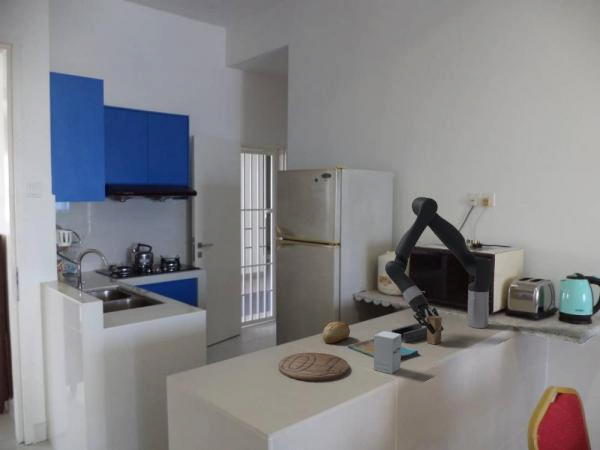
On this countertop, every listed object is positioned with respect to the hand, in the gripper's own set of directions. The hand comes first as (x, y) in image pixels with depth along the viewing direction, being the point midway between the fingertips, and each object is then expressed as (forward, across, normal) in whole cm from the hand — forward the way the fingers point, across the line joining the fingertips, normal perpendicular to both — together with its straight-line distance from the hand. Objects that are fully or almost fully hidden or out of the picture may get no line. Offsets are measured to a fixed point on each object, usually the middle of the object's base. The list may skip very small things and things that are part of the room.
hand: (438, 331), depth 197 cm
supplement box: (+8, -40, -1) cm, 41 cm away
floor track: (-5, 0, +13) cm, 14 cm away
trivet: (-4, -60, +12) cm, 61 cm away
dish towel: (-1, -26, +10) cm, 28 cm away
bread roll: (-17, -30, +25) cm, 43 cm away
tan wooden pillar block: (+2, 0, +5) cm, 5 cm away
